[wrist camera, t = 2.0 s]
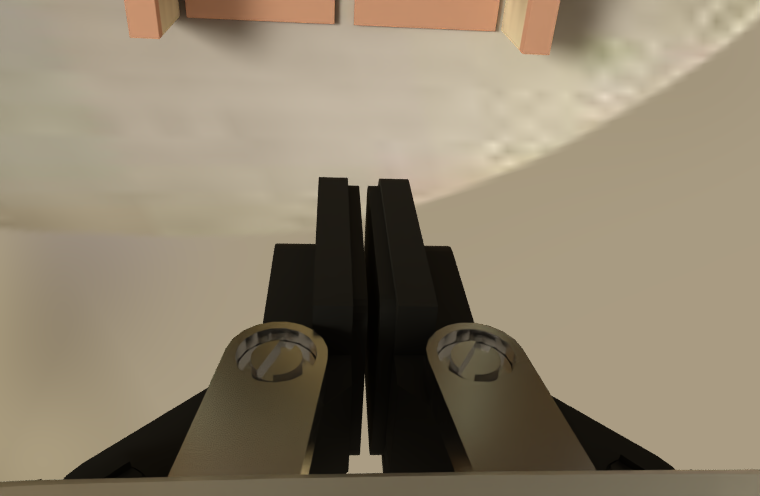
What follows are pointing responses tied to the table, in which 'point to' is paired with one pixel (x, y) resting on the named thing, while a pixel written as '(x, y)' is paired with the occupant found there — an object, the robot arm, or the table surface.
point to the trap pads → (360, 15)
